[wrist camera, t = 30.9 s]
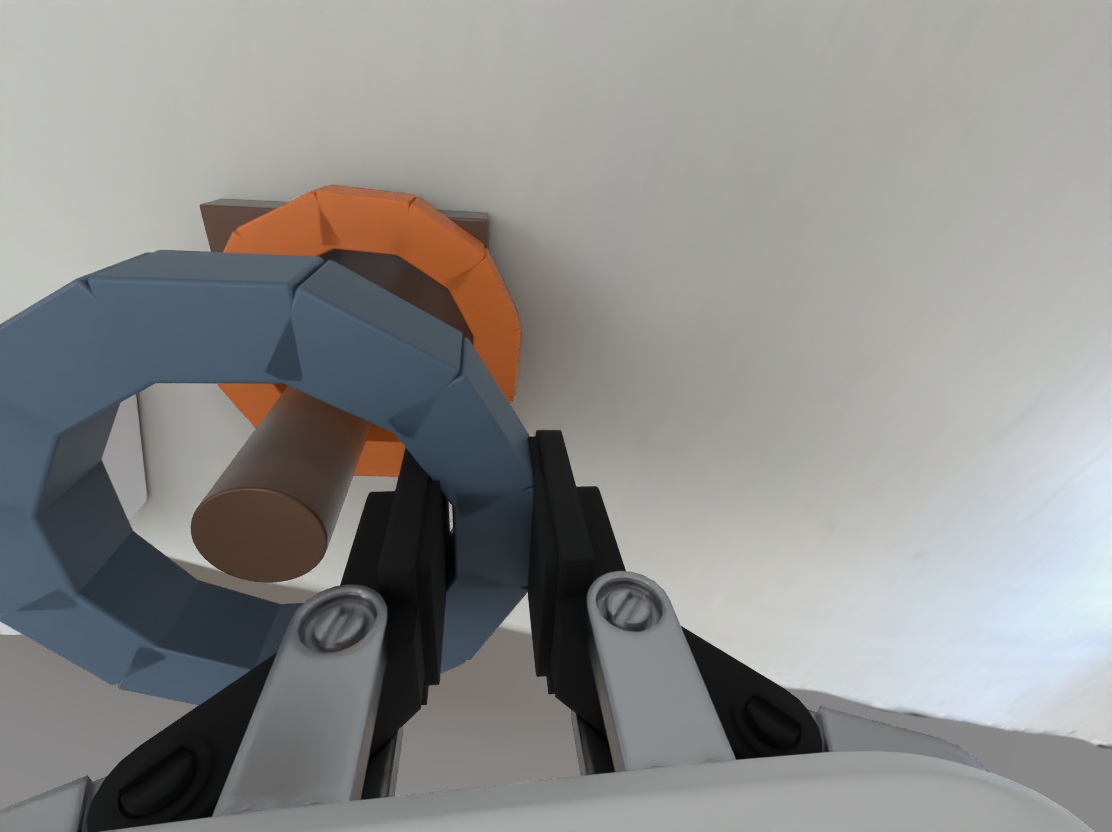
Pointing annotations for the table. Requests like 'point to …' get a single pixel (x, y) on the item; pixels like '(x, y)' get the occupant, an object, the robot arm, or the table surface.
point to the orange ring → (415, 238)
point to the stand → (301, 432)
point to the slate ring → (248, 358)
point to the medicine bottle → (121, 465)
